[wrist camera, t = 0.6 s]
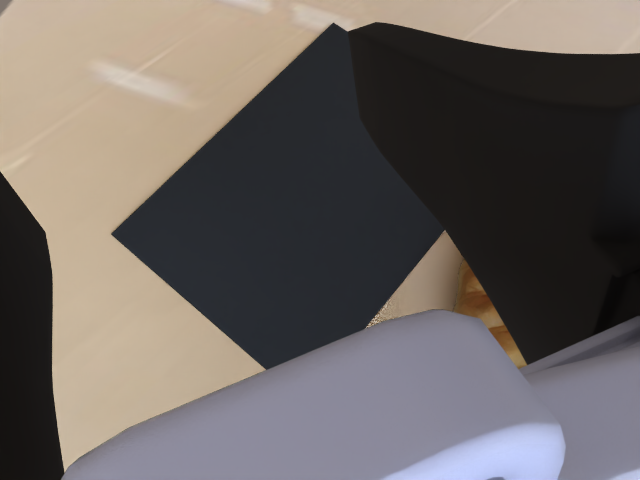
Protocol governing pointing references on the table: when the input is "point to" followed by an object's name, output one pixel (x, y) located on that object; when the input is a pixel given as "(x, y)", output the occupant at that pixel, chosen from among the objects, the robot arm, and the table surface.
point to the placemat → (287, 216)
